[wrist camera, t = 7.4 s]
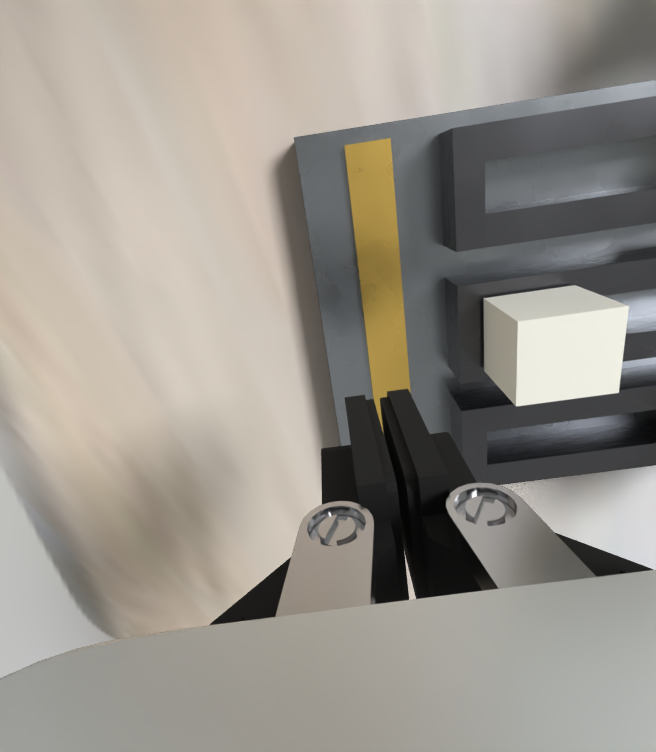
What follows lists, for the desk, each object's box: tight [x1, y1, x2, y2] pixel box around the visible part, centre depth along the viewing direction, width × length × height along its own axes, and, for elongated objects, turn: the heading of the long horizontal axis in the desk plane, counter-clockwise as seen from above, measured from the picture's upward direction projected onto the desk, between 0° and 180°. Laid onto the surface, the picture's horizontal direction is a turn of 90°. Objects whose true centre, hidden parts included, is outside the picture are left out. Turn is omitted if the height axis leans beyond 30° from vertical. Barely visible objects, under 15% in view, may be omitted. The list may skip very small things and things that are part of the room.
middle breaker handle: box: [484, 285, 629, 406], centre depth 16 cm, size 3×3×5 cm
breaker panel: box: [294, 80, 656, 485], centre depth 18 cm, size 15×24×3 cm, turn 98°
